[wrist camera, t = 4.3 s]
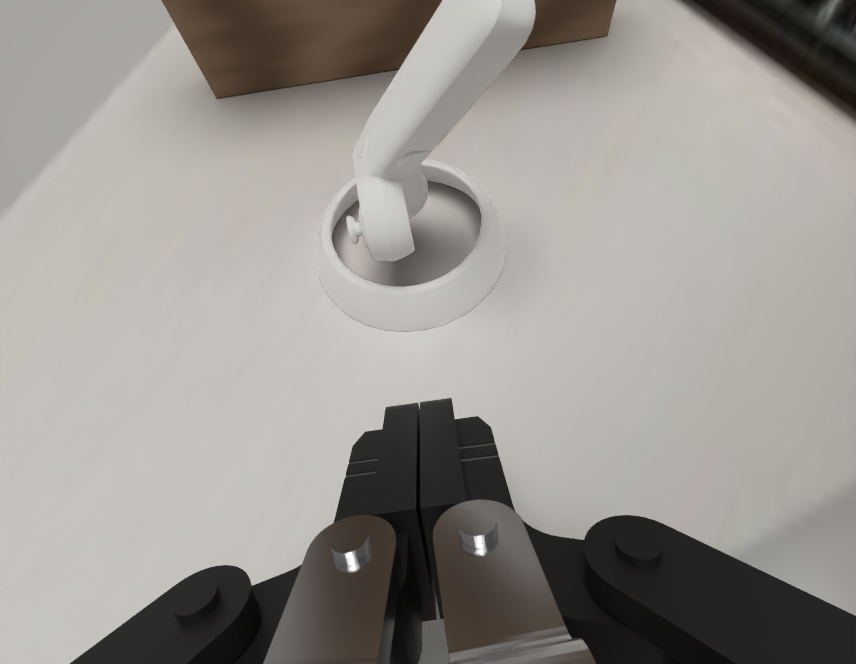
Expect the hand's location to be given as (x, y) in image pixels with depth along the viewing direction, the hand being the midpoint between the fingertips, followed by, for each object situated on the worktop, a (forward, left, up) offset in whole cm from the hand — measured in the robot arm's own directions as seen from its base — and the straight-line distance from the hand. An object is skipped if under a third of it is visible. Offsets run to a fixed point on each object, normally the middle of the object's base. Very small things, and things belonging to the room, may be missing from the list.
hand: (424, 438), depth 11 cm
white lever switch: (0, -9, -5) cm, 10 cm away
